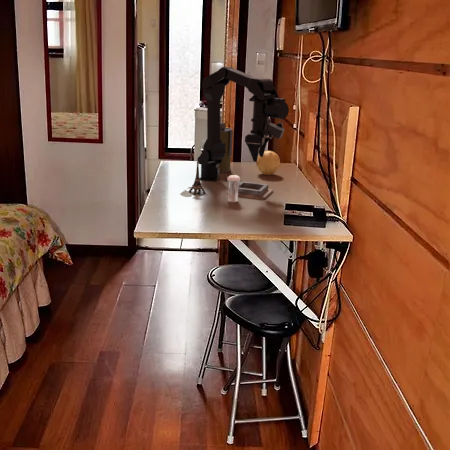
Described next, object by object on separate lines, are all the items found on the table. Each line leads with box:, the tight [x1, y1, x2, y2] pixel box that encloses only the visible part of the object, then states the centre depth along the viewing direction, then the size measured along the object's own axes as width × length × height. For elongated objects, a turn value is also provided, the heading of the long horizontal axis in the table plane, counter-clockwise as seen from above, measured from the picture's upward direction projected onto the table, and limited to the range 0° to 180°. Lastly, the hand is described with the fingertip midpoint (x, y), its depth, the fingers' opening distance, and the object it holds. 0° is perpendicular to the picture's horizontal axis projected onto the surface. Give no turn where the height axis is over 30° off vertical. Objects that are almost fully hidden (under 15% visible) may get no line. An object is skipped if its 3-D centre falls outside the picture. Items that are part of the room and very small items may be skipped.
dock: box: [226, 181, 274, 200], centre depth 207 cm, size 14×12×3 cm
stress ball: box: [255, 150, 281, 176], centre depth 234 cm, size 10×10×10 cm
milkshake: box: [224, 172, 241, 203], centre depth 195 cm, size 4×5×10 cm
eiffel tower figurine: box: [179, 160, 207, 200], centre depth 203 cm, size 15×10×13 cm
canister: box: [218, 121, 234, 173], centre depth 238 cm, size 11×10×20 cm
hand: (258, 159), depth 203 cm, fingers open, 9 cm apart
